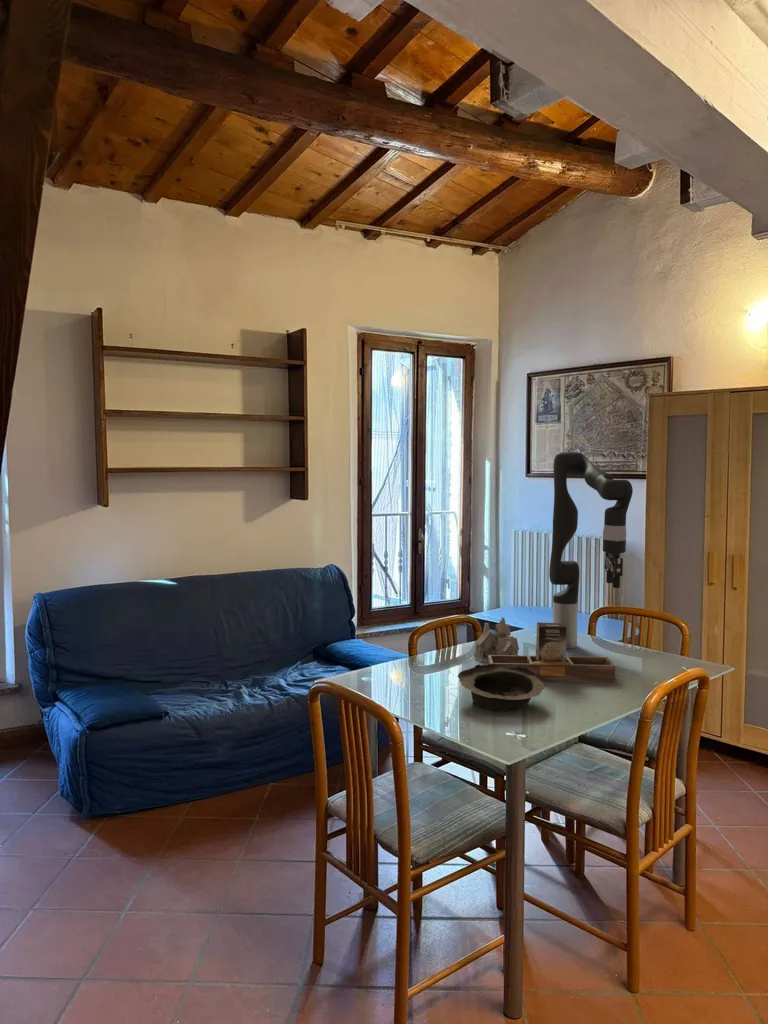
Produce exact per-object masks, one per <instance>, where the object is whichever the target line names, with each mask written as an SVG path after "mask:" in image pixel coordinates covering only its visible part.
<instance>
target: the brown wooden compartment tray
mask: <svg viewBox="0 0 768 1024" xmlns="http://www.w3.org/2000/svg"><path fill="white" fill-rule="evenodd" d="M488 664H489V665H492V664H493V665H494V666H495V665H496V666H500V667H504V668H514V667H516V668H517V667H522V668H527V669H528V670H530V671H532V672H534V674H535V675H536V678H538V679H539V680H540V681H541V682H553V683H554V682H555V683H556V682H561V683H562V682H563V683H564V682H567V683H602V684H603V683H605V684H606V683H608V684H609V683H610V684H611V683H612V684H615V683H616V665H615V664H614V663H613V662H612V661H611V659H610V658H609V657H608V656H571V655H570V656H568V655H566V662H536V655H520V654H518V655H488V663H487V665H488Z"/></svg>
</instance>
